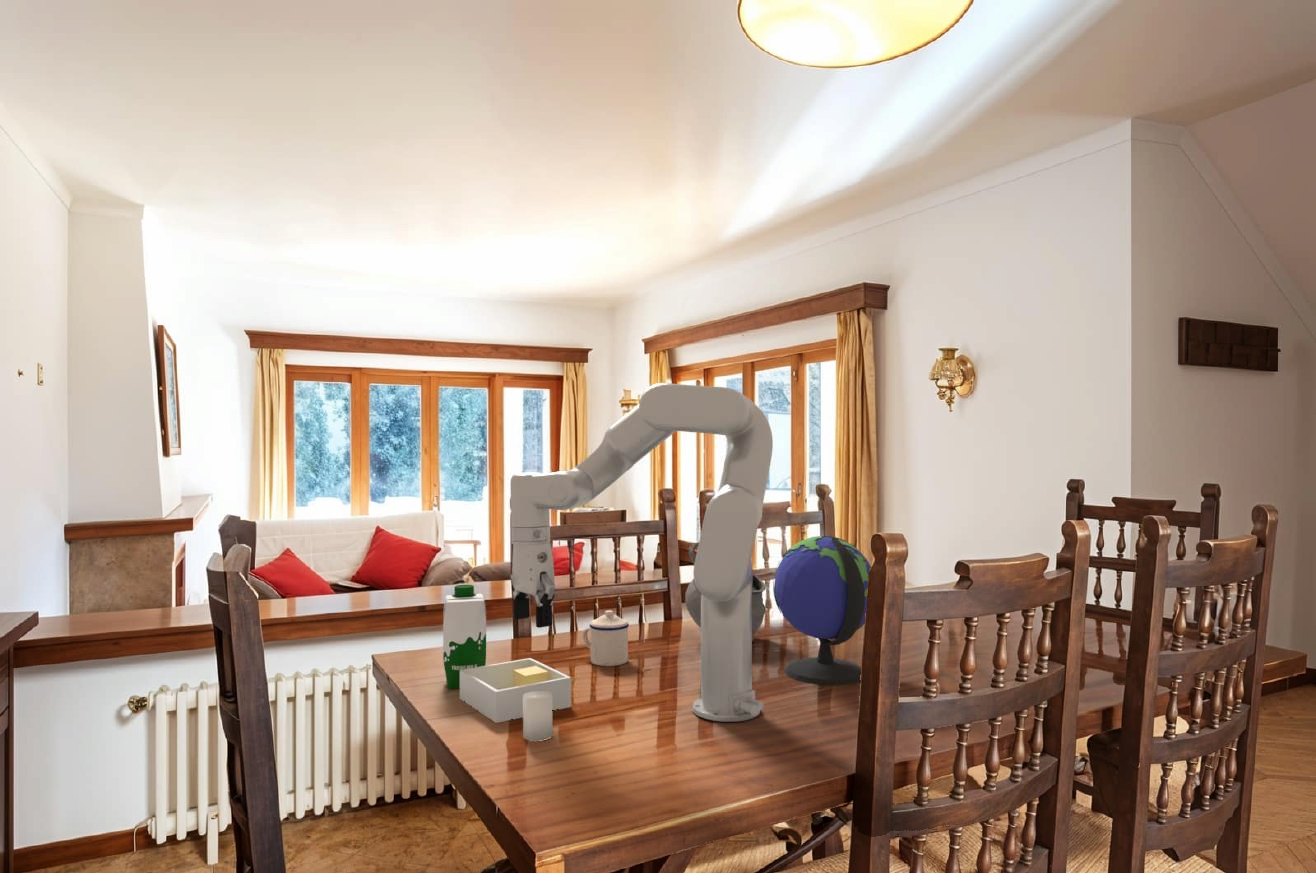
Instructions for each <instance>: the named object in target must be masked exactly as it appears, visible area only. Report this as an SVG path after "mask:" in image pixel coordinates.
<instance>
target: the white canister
mask: <svg viewBox="0 0 1316 873" xmlns="http://www.w3.org/2000/svg"><path fill="white" fill-rule="evenodd" d="M553 726H554V724H553V711H552V693H550V692H546V691H534V692H529V693H526V694H524V695H523V717H522V738H523V737H524V738H525V739H527V740H532V741H539V740H544V739H547V738H549V737H552V738H553V736H554V735H553V729H554V728H553ZM552 735H553V736H552Z"/></svg>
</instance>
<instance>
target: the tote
mask: <svg viewBox="0 0 1316 873" xmlns="http://www.w3.org/2000/svg"><path fill="white" fill-rule="evenodd" d="M533 666H537V667H540V668H542V669H544V670H546V671H548V681H544V682H538V683H533V684H528V685H523V686H517V687H513V670H517V669H522V668H528V667H533ZM534 691H546V692H550V693H552V710H555V711H557V710H556V709H559V710H563V709H568V708H571V707H572V676H569V675H567V674H564V673H562V672H560V671H558V670H556V669H554V668H552V667H551V666H548V665H546V664H544V663H542V662H540V661H538V660H536V659H533V658H531V657H528V658H522V659H517V660H512V661H511V660H510V661H506V662H500V663H494V664H493V663H492V664H487V665H486V664H485V666H480V667H475V668H469V669H463V670H460V688H459V699H460V700H461V701H463V702H464V701H465V702H464V703H466V704H467V705H468V706H470V705H471V706H472V708H473V709H474V710H476V711H477V710H478V711H477V712H479V713H480V714H482V715H483V716H484V717H486V718H487V719H489V720H490V719H491V721H492V722H493V723H495V724H497V723H503V722H508V721H512V720H511V719H513V720H516V719H523V695H524V694H526V693H529V692H534ZM471 706H470V707H471ZM507 720H508V721H507Z"/></svg>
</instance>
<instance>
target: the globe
mask: <svg viewBox="0 0 1316 873" xmlns="http://www.w3.org/2000/svg"><path fill="white" fill-rule="evenodd" d="M870 568H872V566H871V564H870V562H869V560H868V559H867V558H866V557H865V555H863V554H862V552H861V551H860V550H859V549H858V548H857V547H856V546H855V545H854V544H852V543H849V542H847V540H844V539H843V538H839V537H836V536H832V535H831V536H830V535H816V536H811V537H808V538H805V539H803V540H800V541H798V542H797V543H795V544H794V545H792V546H791V547H789V548H788V549H787V550H786V551H785V553H784V554H783V555H782V558H781V560H779V561H778V564H777V566H776V567H775V571H774V572H775V573H774V576H773V582H772V586H773V587H772V588H773V589H772V590H773V597H774V601H775V604H776V606H777V608H778V610H779V612H780V614H781V615H782V616H783V617H784V618H785V620H786V621H787V622H788V623H789V625H790V626H792V627H793V628H795V629H796V630H797V631H799V632H801V633H802V634H804V635H806V636H809V637H811V638H814V639H818V641H819V642H820V644H819V649H818V653H817V657H815V656H814V657H807V658H802V659H801V658H800V659H797V660H793V661H791V662H789V663H788V664H787V665H786V666H785V670H784V673H785V675H786V676H788V677H789V678H790V679H793V680H796V681H798V682H799V681H800V682H803V683H807V684H814V685H824V686H840V685H842V686H843V685H850V684H851V685H852V684H857V683H860V682H861V681H860V675H861V667H862V666H861V665H859V664H857V663H855V662H851V661H849V660H847V659H841V658H840V659H839V658H836V657H835V658H834V656H833V652H832V649H831V646H837V645H841V644H843V643H846V642H847V641H848V640H850V639H851V638H852V637H853V636H854V635H855V634H856V632H857V631H858V630H859V629H861V628H862V627H863V626H864V625H865V624H866V623H865V613H866V606H867V599H866V598H867V588H868V577H869V570H870Z"/></svg>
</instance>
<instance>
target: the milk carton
mask: <svg viewBox="0 0 1316 873" xmlns="http://www.w3.org/2000/svg"><path fill="white" fill-rule="evenodd" d="M485 601H486V600H485V598H484V596H483V594H482V593H475V586H474V585H473V584H459V585H458V584H457V585H455V586H454V594H448V595H445V599H444V605H443V609H444V610H443V613H442V614H443V615H442V618H443V624H442V625H443V626H442V628H443V630H442V633H443V634H442V638H443V639H442V641H443V643H442V650H443V651H442V653H443V654H442V657H443V658H442V659H443V660H442V661H443V667H444V673H445V678H446V683H447V689H448V690H453V689H460V670H463V669H469V668H475V667H480V666H486V663H487V616H486V615H487V608H486V607H487V606H486V602H485Z"/></svg>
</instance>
